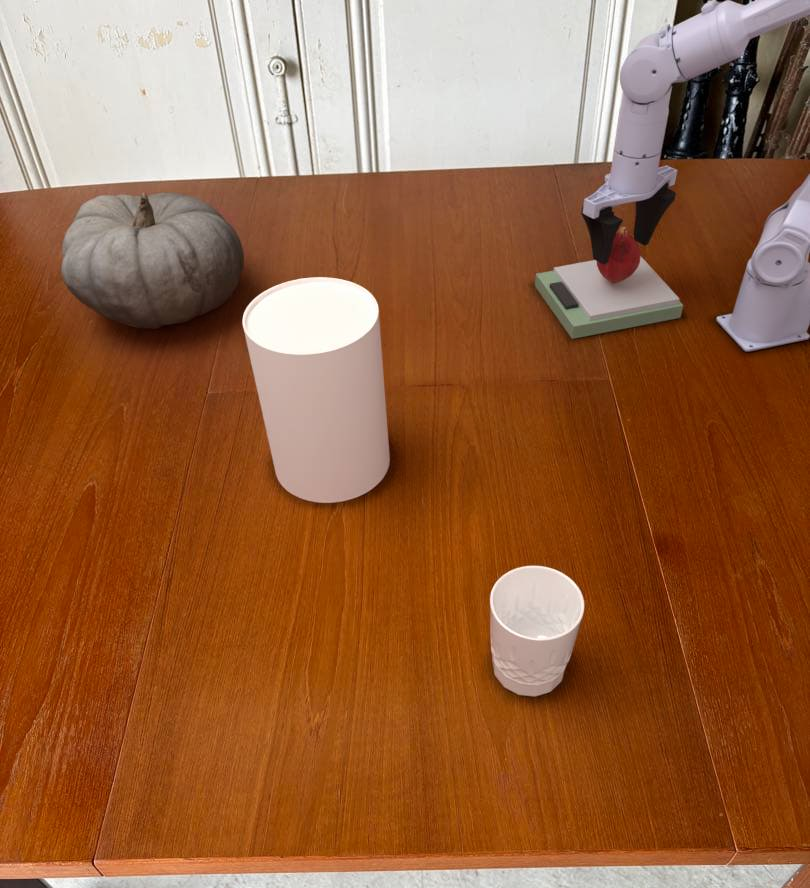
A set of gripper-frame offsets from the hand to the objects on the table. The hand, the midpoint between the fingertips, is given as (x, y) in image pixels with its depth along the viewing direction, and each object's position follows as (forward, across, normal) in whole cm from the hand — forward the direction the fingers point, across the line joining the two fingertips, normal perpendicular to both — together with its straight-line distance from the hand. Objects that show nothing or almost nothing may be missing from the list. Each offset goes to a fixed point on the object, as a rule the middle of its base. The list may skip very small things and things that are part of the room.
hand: (620, 251), depth 110 cm
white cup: (+8, +50, +39) cm, 64 cm away
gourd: (+7, +52, -40) cm, 66 cm away
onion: (+5, 0, 0) cm, 5 cm away
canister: (+8, +50, +4) cm, 50 cm away
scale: (+8, +1, 0) cm, 8 cm away
